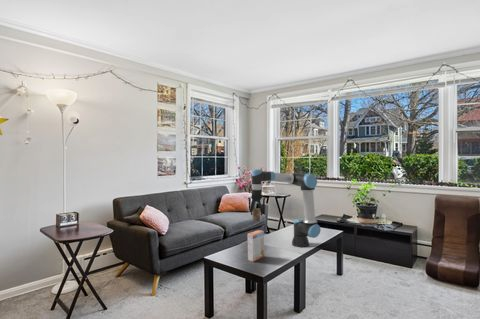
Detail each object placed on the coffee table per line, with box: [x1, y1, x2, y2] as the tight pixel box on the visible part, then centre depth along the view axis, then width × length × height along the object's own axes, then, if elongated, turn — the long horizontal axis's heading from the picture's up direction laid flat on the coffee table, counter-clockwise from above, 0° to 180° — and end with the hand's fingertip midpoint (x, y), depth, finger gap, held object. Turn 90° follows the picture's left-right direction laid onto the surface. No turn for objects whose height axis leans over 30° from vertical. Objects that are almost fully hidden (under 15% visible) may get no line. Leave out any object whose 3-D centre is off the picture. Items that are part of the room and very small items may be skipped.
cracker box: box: [247, 229, 265, 263], centre depth 227 cm, size 14×6×21 cm, turn 138°
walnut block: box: [252, 207, 261, 222], centre depth 226 cm, size 5×5×9 cm
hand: (256, 219), depth 226 cm, fingers closed on walnut block, 5 cm apart
